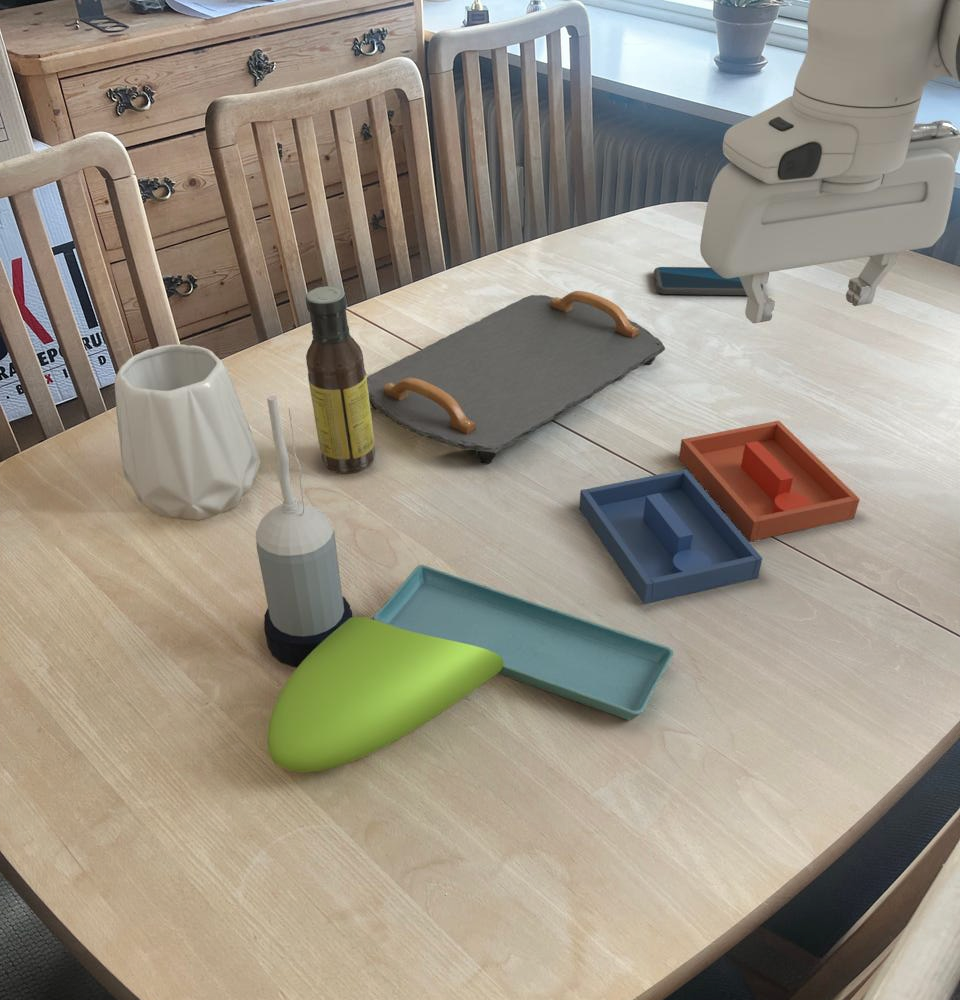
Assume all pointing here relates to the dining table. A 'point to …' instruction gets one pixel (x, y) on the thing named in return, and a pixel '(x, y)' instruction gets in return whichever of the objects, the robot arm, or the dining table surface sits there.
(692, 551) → the spoon blue
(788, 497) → the red bar with disc
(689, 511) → the tray blue
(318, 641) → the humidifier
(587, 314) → the serving tray
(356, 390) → the sauce bottle
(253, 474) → the vase
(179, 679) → the dining table surface
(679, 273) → the smartphone
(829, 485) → the tray red
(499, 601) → the shallow long dish
